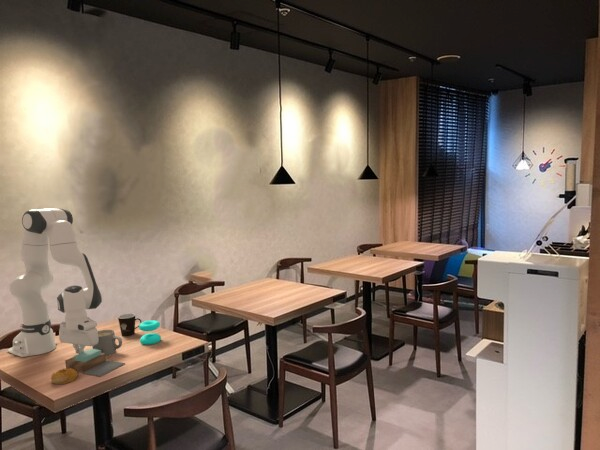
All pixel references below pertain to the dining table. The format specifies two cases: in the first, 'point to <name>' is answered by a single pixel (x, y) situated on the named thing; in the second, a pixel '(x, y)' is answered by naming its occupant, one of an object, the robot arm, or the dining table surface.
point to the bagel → (64, 376)
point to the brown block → (85, 363)
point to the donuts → (150, 337)
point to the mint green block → (87, 355)
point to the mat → (103, 368)
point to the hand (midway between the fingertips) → (79, 353)
